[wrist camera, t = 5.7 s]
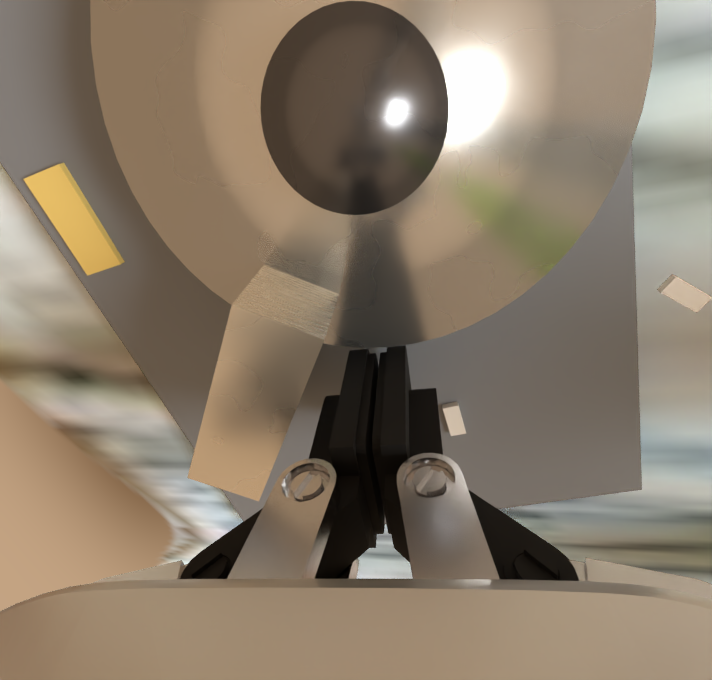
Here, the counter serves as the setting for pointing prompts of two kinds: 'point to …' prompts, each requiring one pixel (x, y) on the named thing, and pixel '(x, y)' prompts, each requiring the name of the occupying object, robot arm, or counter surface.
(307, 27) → the dial
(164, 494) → the counter surface
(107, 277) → the board
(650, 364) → the counter surface
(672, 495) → the counter surface
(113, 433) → the counter surface
